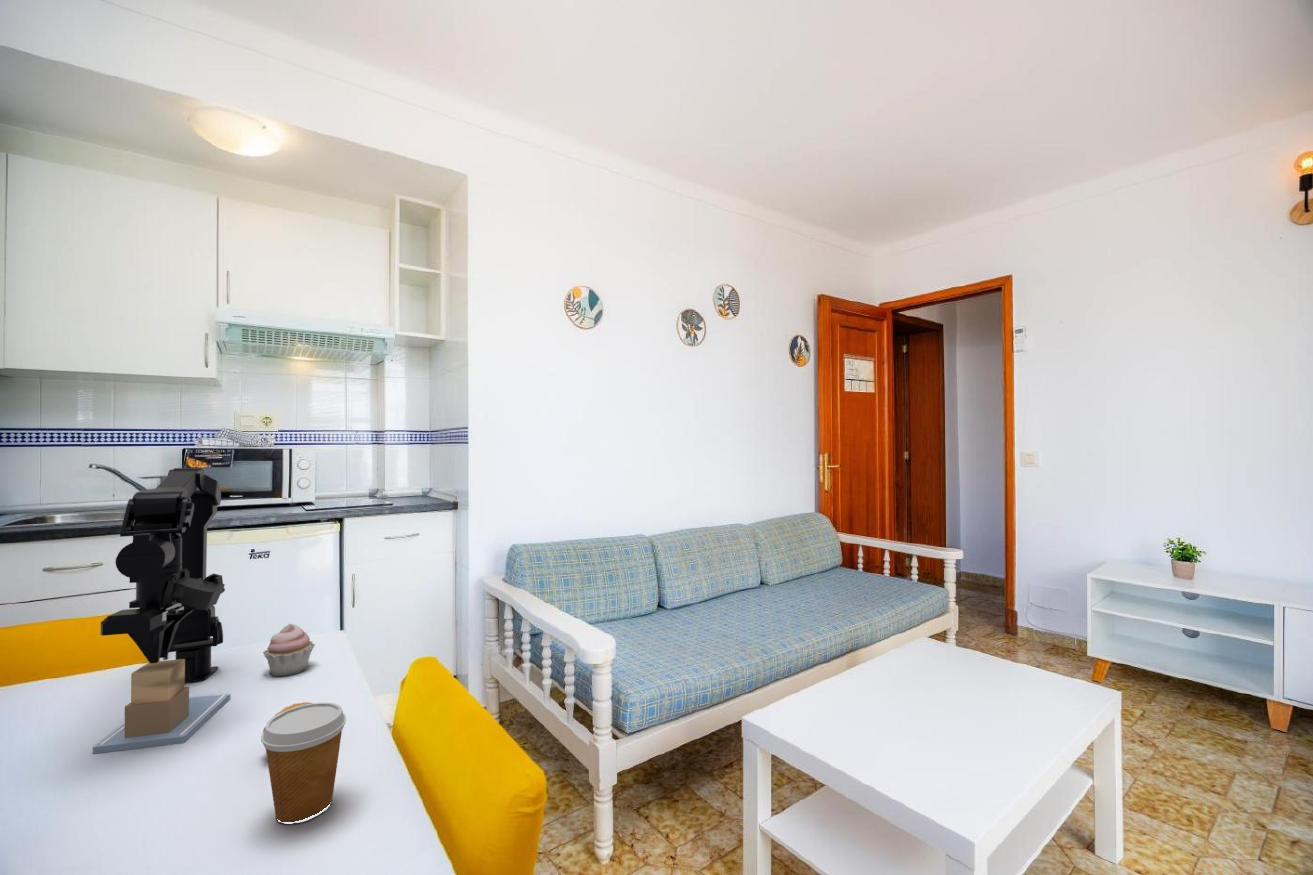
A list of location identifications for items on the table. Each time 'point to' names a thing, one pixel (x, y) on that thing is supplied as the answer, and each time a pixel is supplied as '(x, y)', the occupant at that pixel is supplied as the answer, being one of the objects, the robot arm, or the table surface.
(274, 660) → the cupcake
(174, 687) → the oak cube
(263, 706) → the table surface
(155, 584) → the robot arm
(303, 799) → the disposable coffee cup
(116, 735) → the blueprint board
